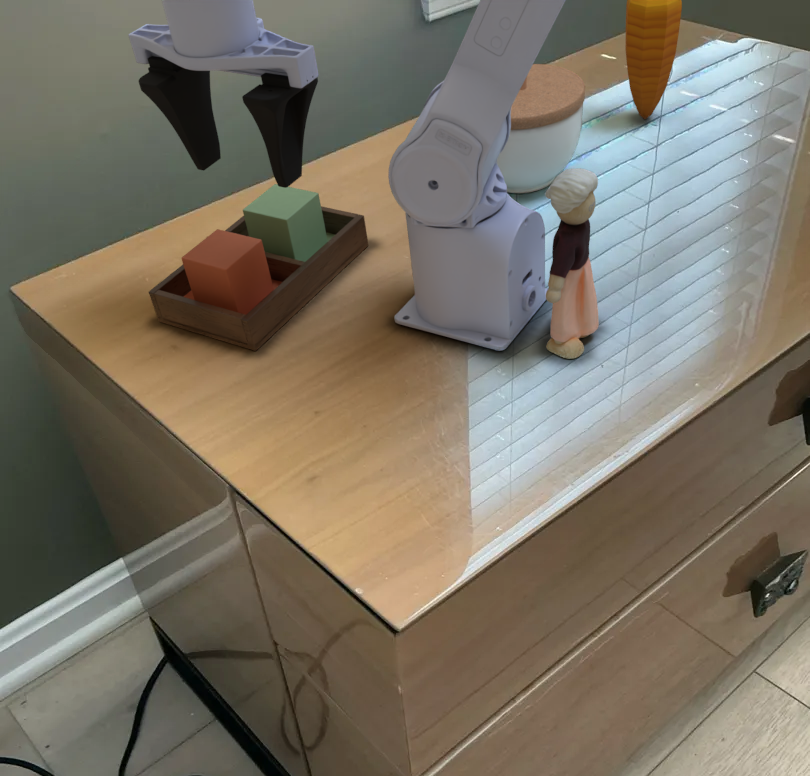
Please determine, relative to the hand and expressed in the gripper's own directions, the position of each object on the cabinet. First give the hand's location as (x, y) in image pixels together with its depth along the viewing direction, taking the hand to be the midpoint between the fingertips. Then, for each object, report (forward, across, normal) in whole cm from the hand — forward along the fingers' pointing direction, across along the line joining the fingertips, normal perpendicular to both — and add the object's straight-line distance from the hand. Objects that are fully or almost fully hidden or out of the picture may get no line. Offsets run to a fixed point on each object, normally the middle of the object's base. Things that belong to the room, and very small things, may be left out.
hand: (248, 172), depth 70 cm
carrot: (+11, -16, -38) cm, 43 cm away
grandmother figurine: (+11, -24, -4) cm, 27 cm away
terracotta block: (+10, +2, +3) cm, 10 cm away
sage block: (+10, +2, -5) cm, 11 cm away
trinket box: (+11, -10, -24) cm, 28 cm away
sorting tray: (+10, +2, -1) cm, 11 cm away
